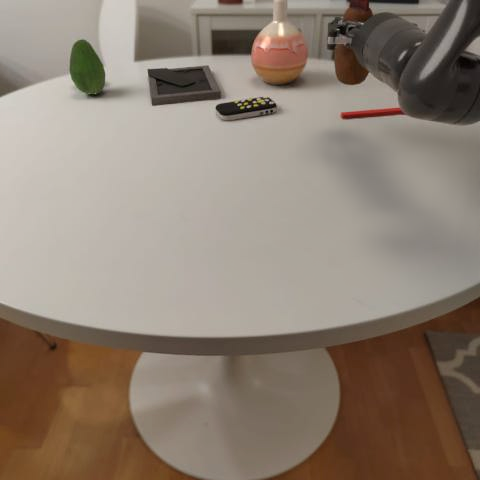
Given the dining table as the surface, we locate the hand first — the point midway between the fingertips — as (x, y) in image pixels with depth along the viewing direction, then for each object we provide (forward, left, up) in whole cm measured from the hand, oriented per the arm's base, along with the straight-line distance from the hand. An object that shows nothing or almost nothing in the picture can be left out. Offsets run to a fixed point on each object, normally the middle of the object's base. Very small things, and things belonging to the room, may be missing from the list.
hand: (351, 22), depth 75 cm
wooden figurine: (0, +3, -9) cm, 9 cm away
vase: (+5, -36, -20) cm, 41 cm away
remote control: (+16, -17, -20) cm, 30 cm away
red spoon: (-12, -10, -20) cm, 25 cm away
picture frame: (+29, -37, -20) cm, 50 cm away
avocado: (+51, -37, -20) cm, 65 cm away
